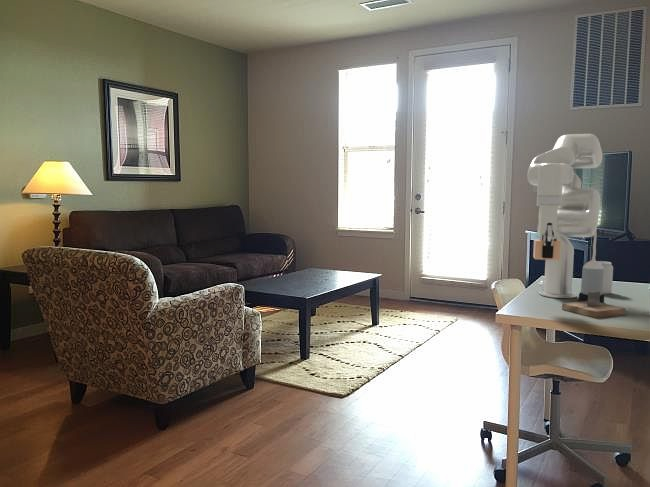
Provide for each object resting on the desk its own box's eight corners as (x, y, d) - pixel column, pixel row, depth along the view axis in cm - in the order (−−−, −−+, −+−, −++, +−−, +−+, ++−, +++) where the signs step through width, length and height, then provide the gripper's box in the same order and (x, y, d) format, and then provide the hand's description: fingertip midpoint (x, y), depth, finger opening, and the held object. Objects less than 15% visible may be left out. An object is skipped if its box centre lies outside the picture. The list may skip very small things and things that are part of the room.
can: (592, 290, 218) (594, 259, 217) (613, 292, 213) (615, 261, 212) (587, 292, 212) (589, 261, 211) (608, 295, 207) (610, 263, 206)
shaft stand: (562, 309, 183) (563, 289, 182) (590, 306, 188) (591, 287, 187) (595, 318, 171) (596, 296, 170) (625, 314, 176) (626, 293, 175)
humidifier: (589, 305, 189) (594, 232, 187) (573, 300, 197) (577, 230, 194) (609, 304, 191) (614, 232, 189) (592, 299, 199) (596, 230, 197)
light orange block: (533, 256, 186) (534, 237, 186) (557, 257, 184) (558, 238, 183) (534, 259, 181) (535, 239, 180) (559, 260, 178) (560, 239, 178)
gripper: (534, 200, 190) (532, 253, 192) (539, 202, 173) (536, 259, 175) (558, 201, 188) (555, 254, 189) (565, 202, 171) (562, 260, 173)
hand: (546, 256), depth 182 cm, fingers closed on light orange block, 6 cm apart
